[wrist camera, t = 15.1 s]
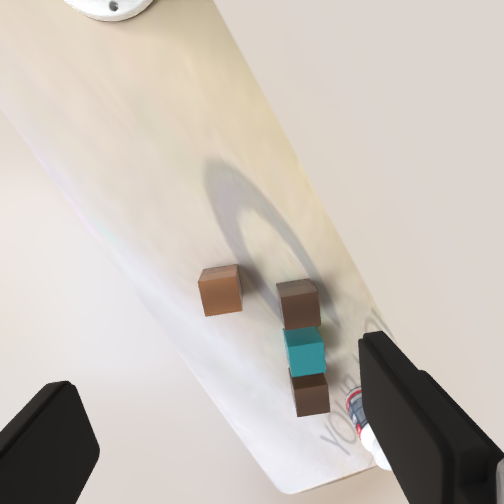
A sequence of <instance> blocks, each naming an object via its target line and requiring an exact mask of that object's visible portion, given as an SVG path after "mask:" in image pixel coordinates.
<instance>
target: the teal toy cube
mask: <svg viewBox="0 0 504 504" xmlns="http://www.w3.org/2000/svg"><path fill="white" fill-rule="evenodd" d="M283 333H284V340H285V347H286V354H287V359H288V363H289V367H290V371H291V375H292V377H297V376H304V375H310V374H317V373H323V372H326V363H325V353H324V343H323V340H322V338H321V336H320V334H319V332H318V330H317V328H316V326H313V327H306V328H300V329H294V330H287V331H285V328H284V329H283Z"/></svg>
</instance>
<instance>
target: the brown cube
mask: <svg viewBox="0 0 504 504" xmlns="http://www.w3.org/2000/svg"><path fill="white" fill-rule="evenodd" d="M288 369H289V376H290V383H291V389H292V395H293V399H294V404H295V408H296V412H297V417H303V416H309V415H315V414H322V413H328V412H330V403H329V393H328V385H327V382H326V380H325V377H324V375H323V373H317V374H310V375H304V376H297V377H292V375H291V371H290V367H289V368H288Z"/></svg>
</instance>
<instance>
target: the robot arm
mask: <svg viewBox="0 0 504 504" xmlns="http://www.w3.org/2000/svg"><path fill="white" fill-rule="evenodd" d="M64 1H65V2H66V3H67V4H69V5H70V6H71V7H72V8H74V9H75V10H77V11H78V12H80V13H82V14H84V15H86V16H88V17H91V18H94V19H97V20H101V21H110V22H112V21H121V20H125V19H128V18H131V17H133V16H135V15H137V14H138V13H140V12H141V11H143V10H144V9H145V8H146V7H147V6H148V5H149V4H150V3H151V2H152V1H153V0H64ZM116 9H118V10H117V11H116ZM358 347H359V362H360V377H361V393H362V406H363V411H364V415H365V417H366V419H367V421H368V423H369V425H370V427H371V429H372V431H373V433H374V435H375V437H376V439H377V441H378V443H379V445H380V447H381V449H382V451H383V453H384V455H385V457H386V459H387V461H388V463H389V465H390V467H391V469H392V470H393V472H394V474H395V476H396V478H397V480H398V482H399V484H400V486H401V488H402V490H403V492H404V494H405V496H406V498H407V500H408V502H409V504H504V453H503V452H502V451H501V449H500V448H499V447H498V446H497V445H496V444H495V443H494V442H493V441H492V440H491V439H490V438H489V437H488V436H487V435H486V434H485V433H484V432H483V430H482V429H481V428H480V427H479V426H478V425H477V424H476V423H475V422H474V421H473V420H472V419H471V418H470V417H469V416H468V415H467V414H466V413H465V411H464V410H463V409H462V408H461V407H460V406H459V405H458V404H457V403H456V402H455V401H454V400H453V399H452V398H451V397H450V396H449V395H448V393H447V392H445V390H444V389H443V388H442V387H441V386H440V385H439V384H438V383H437V382H436V381H435V380H434V379H433V378H432V377H431V376H430V375H429V374H428V373H427V372H426V371H423V370H418V369H417V368H416V367H415V366H414V365H413V363H412V362H411V361H410V360H409V359H408V358H407V357H406V356H405V354H404V353H403V352H402V351H401V350H400V349H399V348H398V347H397V346H396V345H395V344H394V342H393V341H392V340H391V339H390V338H389V337H388V336H387V335H386V334H385V333H384V332H383V331H377V332H370V333H365V334H364V335H363V339H359V340H358ZM99 454H100V448H99V445H98V442H97V439H96V437H95V434H94V432H93V429H92V427H91V424H90V422H89V419H88V416H87V414H86V411H85V409H84V407H83V404H82V401H81V399H80V396H79V393H78V391H77V389H76V387H75V385H72V384H71V383H70V382H69V381H60V382H54V383H49V384H46V385H45V386H44V387H43V388H42V389H41V390H40V391H39V392H38V393H37V394H36V395H35V396H34V397H33V398H32V399H31V401H29V403H28V404H26V406H25V407H24V408H23V409H22V410H21V411H20V412H19V413H18V414H17V415H16V416H15V417H14V418H13V419H12V420H11V421H10V422H9V423H8V424H7V425H6V426H5V428H4V429H3V430H2V431H1V432H0V504H76V502H77V500H78V498H79V496H80V494H81V492H82V490H83V488H84V486H85V484H86V482H87V480H88V478H89V476H90V474H91V473H92V471H93V468H94V467H95V465H96V463H97V461H98V458H99Z"/></svg>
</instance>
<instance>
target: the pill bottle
mask: <svg viewBox="0 0 504 504" xmlns="http://www.w3.org/2000/svg"><path fill="white" fill-rule="evenodd" d="M345 405H346V409H347V411H348V413H349V415H350V417H351V420H352V422H353V424H354V426H355V428H356V431H357V433H358V435H359V437H360V440H361V442H362V444H363V445H364V447H365V448H366V449H367V450H369V451H370V452H372V454H373V457H374V458H375V461H376V463H377V464H378V466H380V467H381V468H382V469H385V470H392V469H391V467H390V465H389V463H388V461H387V459H386V457H385V455H384V453H383V451H382V449H381V447H380V445H379V443H378V441H377V439H376V437H375V435H374V433H373V431H372V429H371V427H370V425H369V423H368V421H367V419H366V417H365V415H364V411H363V406H362V393H361V387H358V388H356V389H354V390H352V391H351V392H350V393H349V394H348V395H347V397H346V400H345Z"/></svg>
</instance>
